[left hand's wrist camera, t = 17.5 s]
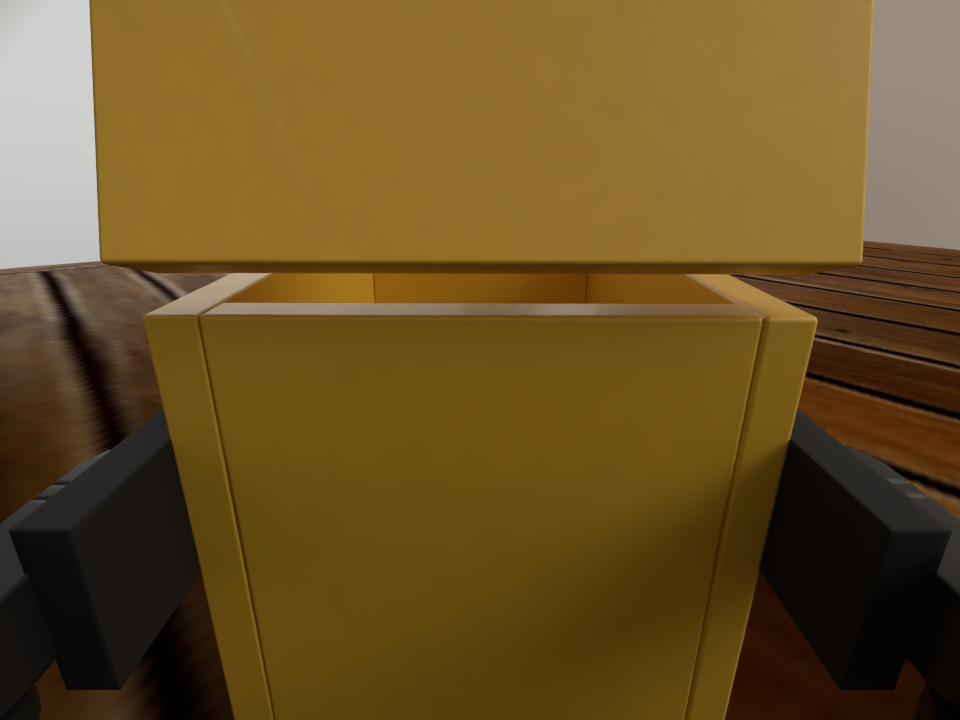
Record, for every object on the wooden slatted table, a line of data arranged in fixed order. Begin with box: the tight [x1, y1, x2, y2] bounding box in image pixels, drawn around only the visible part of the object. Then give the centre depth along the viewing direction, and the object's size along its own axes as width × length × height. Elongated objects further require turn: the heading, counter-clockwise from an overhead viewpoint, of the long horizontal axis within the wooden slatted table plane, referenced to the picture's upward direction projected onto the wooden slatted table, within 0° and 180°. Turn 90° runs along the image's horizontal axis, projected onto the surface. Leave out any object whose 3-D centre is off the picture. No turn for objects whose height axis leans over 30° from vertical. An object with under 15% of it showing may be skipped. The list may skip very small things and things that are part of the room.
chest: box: [143, 273, 817, 720], centre depth 16 cm, size 14×10×10 cm
